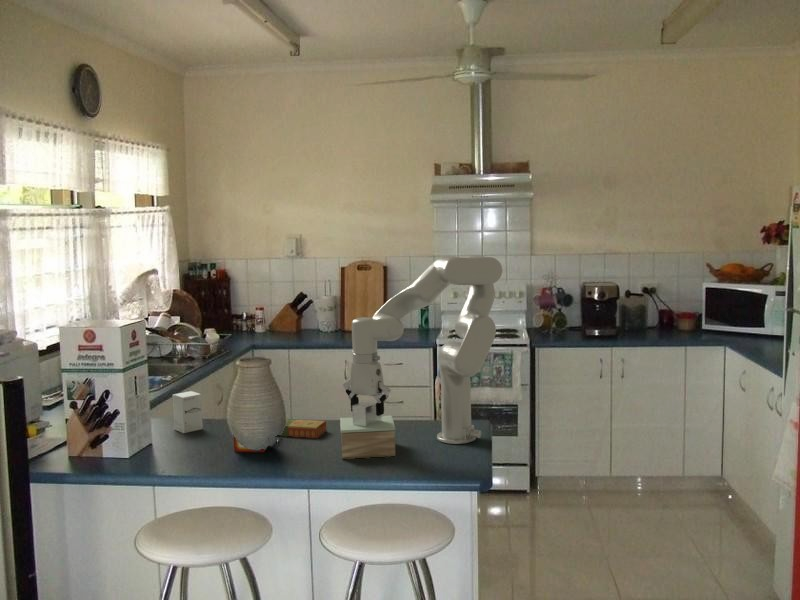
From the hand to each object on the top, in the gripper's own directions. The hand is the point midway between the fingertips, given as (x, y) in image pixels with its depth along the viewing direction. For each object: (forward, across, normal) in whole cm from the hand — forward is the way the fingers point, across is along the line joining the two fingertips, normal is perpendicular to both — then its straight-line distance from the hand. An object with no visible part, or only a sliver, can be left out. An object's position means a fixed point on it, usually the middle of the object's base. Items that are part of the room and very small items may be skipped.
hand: (367, 412), depth 241 cm
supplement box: (+12, +68, +13) cm, 70 cm away
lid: (+4, 0, 0) cm, 4 cm away
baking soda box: (+12, +33, +17) cm, 39 cm away
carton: (+13, +31, -3) cm, 34 cm away
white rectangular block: (+3, 0, 0) cm, 3 cm away
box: (+12, 0, 0) cm, 12 cm away
